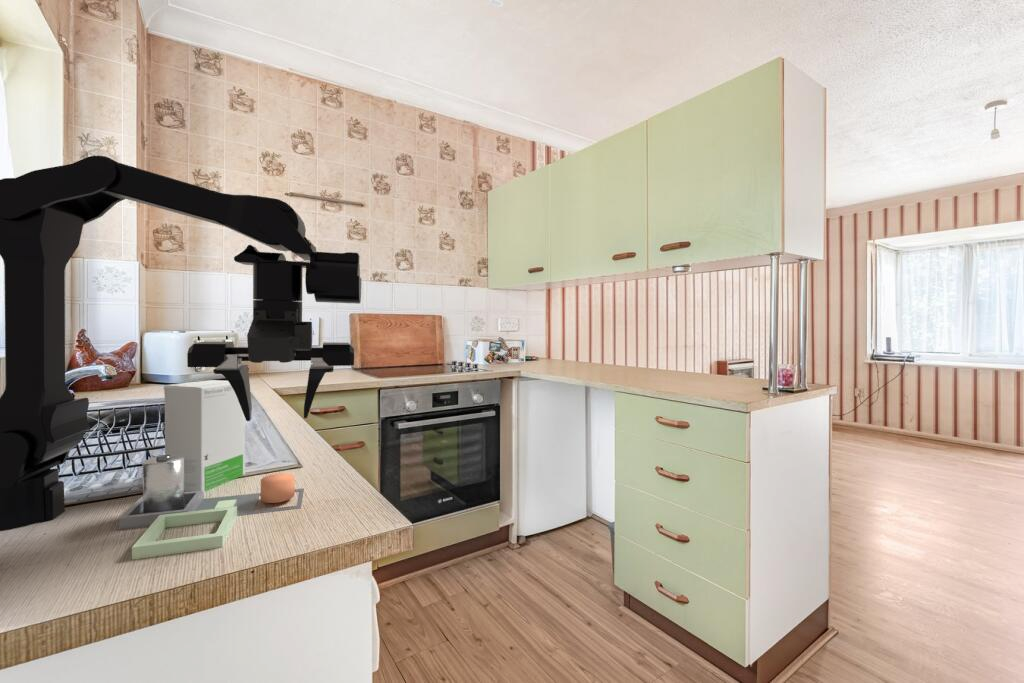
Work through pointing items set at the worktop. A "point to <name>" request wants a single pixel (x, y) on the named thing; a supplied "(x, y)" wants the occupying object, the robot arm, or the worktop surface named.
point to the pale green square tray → (153, 548)
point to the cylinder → (277, 487)
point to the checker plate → (199, 507)
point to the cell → (163, 484)
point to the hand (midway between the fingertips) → (277, 419)
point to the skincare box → (205, 432)
